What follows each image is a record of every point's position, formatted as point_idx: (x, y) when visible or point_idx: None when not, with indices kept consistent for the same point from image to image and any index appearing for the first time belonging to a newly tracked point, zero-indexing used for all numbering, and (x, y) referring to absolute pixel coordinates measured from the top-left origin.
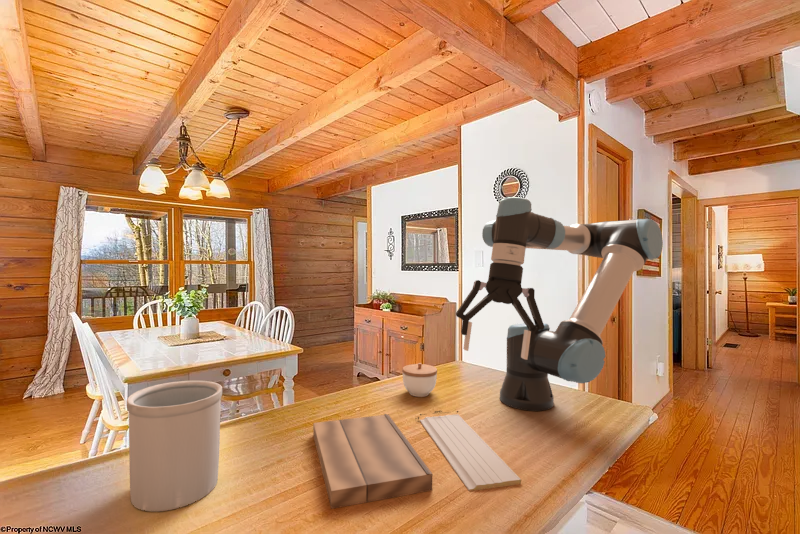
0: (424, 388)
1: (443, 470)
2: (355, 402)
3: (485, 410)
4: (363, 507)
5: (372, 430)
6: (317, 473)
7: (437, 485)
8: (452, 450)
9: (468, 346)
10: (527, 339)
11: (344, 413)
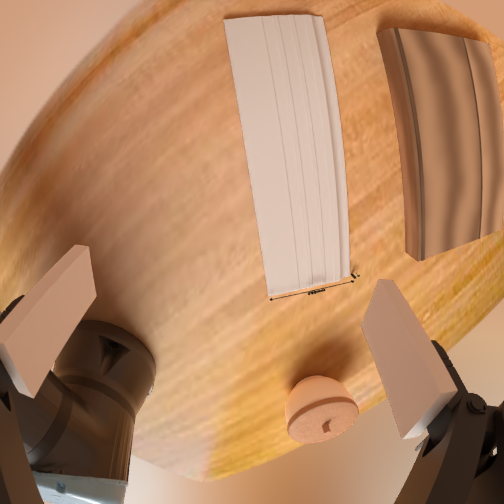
0: (315, 382)
1: (351, 78)
2: None
3: (197, 327)
4: (450, 32)
5: (452, 194)
6: None
7: (367, 41)
8: (326, 129)
9: (388, 290)
10: (29, 305)
11: (446, 297)
